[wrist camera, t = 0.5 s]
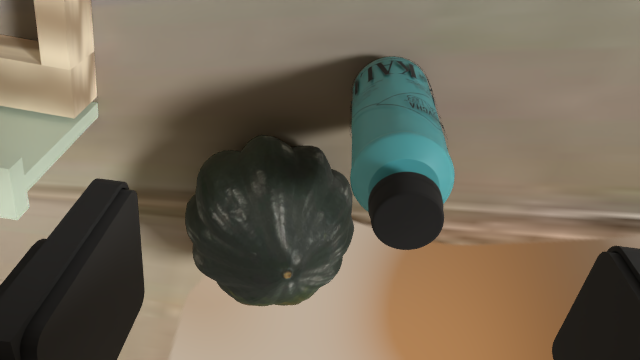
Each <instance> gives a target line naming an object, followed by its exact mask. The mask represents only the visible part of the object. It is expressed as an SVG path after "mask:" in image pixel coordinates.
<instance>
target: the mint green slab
mask: <svg viewBox="0 0 640 360" xmlns="http://www.w3.org/2000/svg"><path fill="white" fill-rule="evenodd" d="M97 118H98V103H96V102H91V103H90V104H89V105H88V106H87V107H86V108H85V109H84V110H83V111H82V112H81V113H80V114H79V115H78V116H77V117H76V118H75V119H74V118H68V117H63V116H57V115H51V114H45V113H39V112H34V111H28V110H22V109H16V108H11V107H5V106H0V217H1V218H8V219H14V220H18V219H19V218H20V217H21V216H22V215H23V214H24V213H25V212H26V211H27V209H28V208H29V201H28V194H27V191H28V190H29V189H30V188H31V187H32V186H33V185H34V184H35V183H36V182H37V181H38V180H39V179H40V178H41V177H42V176H43V175H44V173H45V172H46V171H47V170H48V169H49V168H50V167H51V166H52V165H53V164H54V163H55V162H56V161H57V160H58V159H59V158H60V157H61V156H62V155H63V153H64V152H65V151H66V150H67V149H68V148H69V147H70V146H71V145H72V144H73V143H74V142H75V141H76V140H77V139H78V138H79V137H80V136H81V135H82V134H83V132H84V131H85V130H86V129H87V128H88V127H89V126H90V125H91V124H92V123H93V122H94V121H95V120H96V119H97Z"/></svg>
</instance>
